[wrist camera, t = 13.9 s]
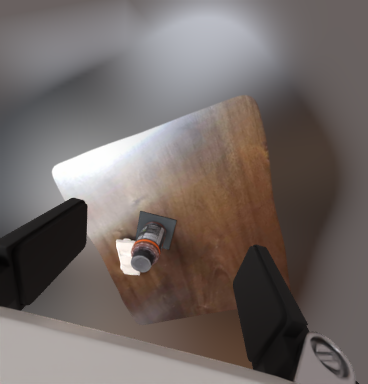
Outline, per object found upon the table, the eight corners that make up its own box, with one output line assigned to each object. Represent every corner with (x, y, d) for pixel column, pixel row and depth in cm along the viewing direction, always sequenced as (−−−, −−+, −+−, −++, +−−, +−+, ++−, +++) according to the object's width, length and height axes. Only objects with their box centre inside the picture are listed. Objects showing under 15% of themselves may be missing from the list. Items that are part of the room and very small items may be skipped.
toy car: (124, 269, 49) (119, 279, 46) (118, 234, 45) (111, 242, 42) (143, 271, 48) (139, 281, 45) (138, 235, 44) (133, 244, 41)
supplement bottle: (160, 244, 44) (148, 281, 34) (139, 234, 44) (120, 268, 33) (170, 227, 42) (161, 261, 32) (149, 216, 42) (131, 247, 31)
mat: (135, 240, 45) (135, 241, 45) (140, 210, 42) (140, 211, 41) (168, 249, 45) (168, 249, 45) (176, 220, 42) (176, 220, 42)
